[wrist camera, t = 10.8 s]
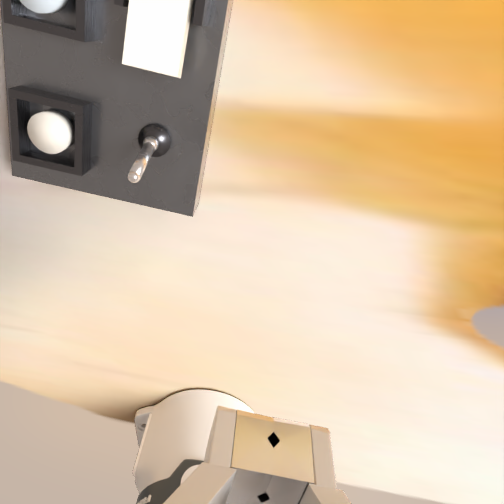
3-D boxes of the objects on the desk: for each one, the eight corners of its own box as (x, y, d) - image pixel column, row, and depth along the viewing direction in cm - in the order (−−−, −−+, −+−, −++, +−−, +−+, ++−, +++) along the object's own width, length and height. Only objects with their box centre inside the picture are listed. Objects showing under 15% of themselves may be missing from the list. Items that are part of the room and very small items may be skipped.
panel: (198, 203, 40) (186, 230, 34) (30, 165, 39) (-8, 186, 34) (246, -82, 29) (239, -105, 24) (16, -143, 28) (-42, -180, 23)
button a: (74, 154, 34) (67, 158, 33) (35, 144, 34) (28, 148, 33) (74, 115, 33) (68, 118, 32) (34, 105, 33) (26, 108, 32)
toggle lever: (160, 147, 34) (140, 188, 30) (145, 144, 34) (124, 184, 30) (160, 135, 33) (140, 175, 29) (145, 131, 33) (123, 172, 29)
